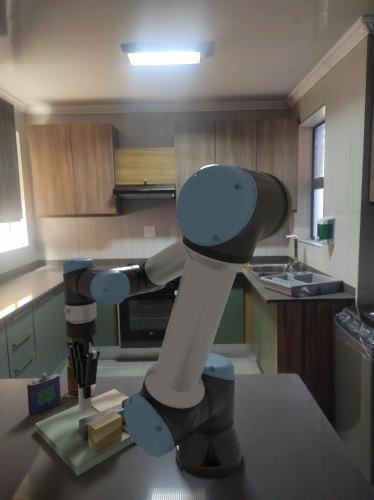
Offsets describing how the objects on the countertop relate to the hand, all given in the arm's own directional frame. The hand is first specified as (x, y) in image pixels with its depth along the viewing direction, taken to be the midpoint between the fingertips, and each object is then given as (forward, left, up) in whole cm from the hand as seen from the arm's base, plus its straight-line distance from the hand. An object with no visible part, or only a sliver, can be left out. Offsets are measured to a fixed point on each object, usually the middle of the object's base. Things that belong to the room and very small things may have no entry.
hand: (85, 408), depth 85 cm
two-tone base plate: (-2, -3, -6) cm, 7 cm away
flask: (+17, +3, -6) cm, 18 cm away
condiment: (+19, -9, -6) cm, 21 cm away
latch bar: (-7, -3, -3) cm, 8 cm away
